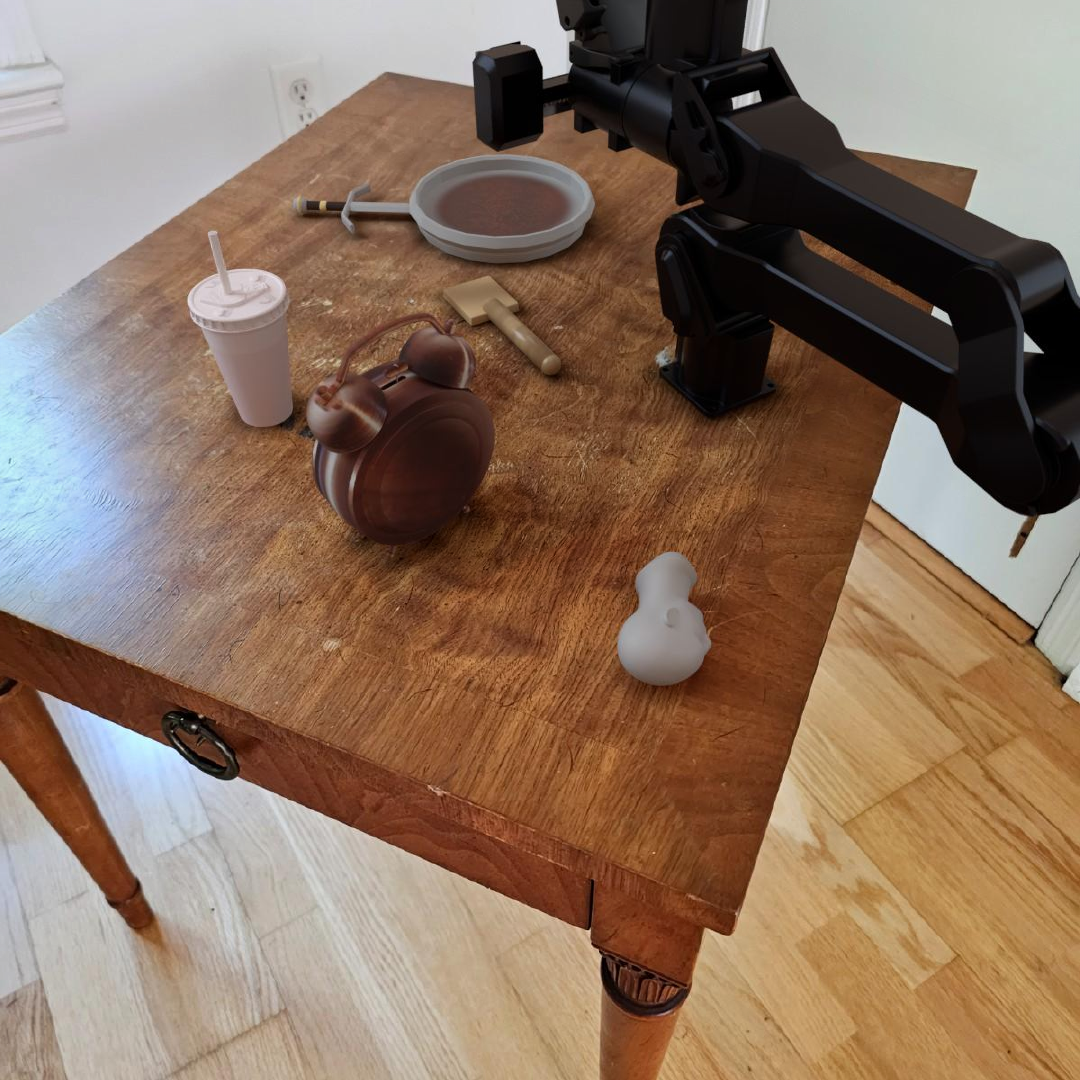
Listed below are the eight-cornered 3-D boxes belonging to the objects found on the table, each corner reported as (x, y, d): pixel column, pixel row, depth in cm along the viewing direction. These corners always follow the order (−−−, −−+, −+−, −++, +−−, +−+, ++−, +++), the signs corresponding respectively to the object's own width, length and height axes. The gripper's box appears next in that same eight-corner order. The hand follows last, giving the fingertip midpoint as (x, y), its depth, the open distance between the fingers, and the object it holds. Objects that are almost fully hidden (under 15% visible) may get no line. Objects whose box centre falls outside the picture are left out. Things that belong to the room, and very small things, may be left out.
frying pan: (309, 149, 94) (596, 151, 92) (315, 178, 96) (595, 180, 94) (266, 236, 82) (594, 239, 81) (274, 267, 84) (593, 270, 83)
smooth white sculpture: (682, 717, 53) (597, 680, 52) (706, 607, 58) (629, 573, 58) (716, 680, 49) (626, 640, 49) (738, 567, 54) (657, 531, 54)
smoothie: (213, 396, 70) (160, 217, 60) (300, 375, 72) (262, 199, 62) (230, 448, 66) (176, 266, 56) (321, 426, 68) (285, 245, 58)
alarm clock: (456, 469, 65) (441, 270, 54) (503, 505, 62) (497, 305, 52) (320, 547, 60) (274, 345, 49) (366, 590, 57) (327, 387, 46)
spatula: (580, 369, 73) (581, 352, 72) (530, 387, 71) (530, 370, 70) (489, 283, 81) (488, 266, 80) (443, 297, 80) (441, 280, 79)
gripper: (774, -51, 63) (628, -93, 72) (539, -1, 56) (410, -55, 65) (750, 121, 71) (621, 63, 80) (542, 186, 63) (426, 114, 73)
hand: (528, 46), depth 74 cm, fingers open, 9 cm apart
